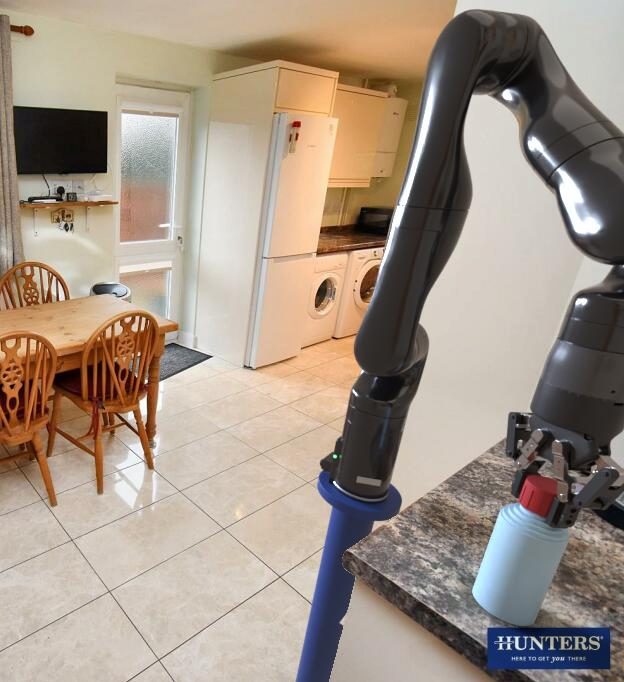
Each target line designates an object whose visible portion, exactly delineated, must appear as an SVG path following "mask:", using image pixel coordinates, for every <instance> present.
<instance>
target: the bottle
mask: <svg viewBox="0 0 624 682" xmlns="http://www.w3.org/2000/svg"><path fill="white" fill-rule="evenodd" d="M508 504H509V505H508ZM508 504H506V505H504V506H505V507H504V508H503V507H501V508H500V510H499V512H498V515H497V518H496V521H495V524H494V527H493V530H492V533H491V536H490V538H489V541H488V544H487V547H486V550H485V553H484V555H483V558H482V561H481V564H480V567H479V569H478V572H477V575H476V578H475V581H474V584H473V587H472V590H471V592H472V595H473V598H474V600H475V601H476V602H477V604H478V605H480V607H481V608H483V609H484V610H485V611H486V612H487V613H489V614H490V615H491V616H493V617H494V618H497V619H499V620H501V621H503V622H505V623H507V624H510V625H514V626H519V627H530V626H532V625H533V624H534V623H535V622H536V620H537V617H538V615H539V612H540V610H541V608H542V606H543V603H544V601H545V599H546V596H547V594H548V592H549V589H550V587H551V584H552V582H553V579H554V577H555V575H556V573H557V570H558V569H559V568H558V567H559V566H560V563H561V561H562V558H563V556H564V554H565V552H566V549H567V546H568V544H569V542H570V539H571V536H570V531H569V529H568V528H566V529H562V528H552V527H550V526H549V525H548V524H547V523H545V520H546V517H543V516H540V515H537V514H535V513H532V512H530V511H529V510H527V509H525V508H524V507H523V506H522V505H521V504H520V503H519V501H518V502H515V503H508Z"/></svg>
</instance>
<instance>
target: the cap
mask: <svg viewBox="0 0 624 682" xmlns="http://www.w3.org/2000/svg"><path fill="white" fill-rule="evenodd" d="M554 497H557V480H556V479H554V478H551V477H547V476H544V475H541V476H539V475H530V476H528V477H527V478H526V481H525V482H524V485H523V487H522V490H521V493H520V495H519V499H518V502H519V503H520V504H521V505H522V506H523V507H524V508H525V509H527V510H529V511H530V512H532V513H535V514H537V515H540V516H543V517H547V514H548V512H549V509H550V507H551V504H552V502H553V499H554Z"/></svg>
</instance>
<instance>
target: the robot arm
mask: <svg viewBox="0 0 624 682" xmlns="http://www.w3.org/2000/svg"><path fill="white" fill-rule="evenodd" d="M473 96H488V97H490V98H492V99H494V100H495V101H497V102H498V103H500V104H502V105H503V106H504V107H506V108H507V109H508V110H509V111H510V112H511V114H512V115H513V116H514V118H515V119H516V121H517V124H518V143H519V148H520V151H521V154H522V156H523V158H524V159H525V161H526V163H527V164H528V166H529V167H530V169H531V170H532V171H533V172H534V173H535V175H536V176H537V177H538V178H539V180H540V181H541V182H542V184H543V185H544V186H545V187H546V188H547V189H548V190H549V192H550V193H551V194H552V195H553V196H554V197H555V201H556V206H557V210H558V213H559V215H560V218H561V221H562V224H563V228H564V230H565V233H566V235H567V237H568V240H569V241H570V243H571V244H572V246H573V247H574V248H575V249H576V250H578V252H579V253H581V254H582V255H583V256H584V257H585V258H587V259H590V260H591V261H593V262H595V263H598V264H601V265H606V266H612V267H611V268H610V270H609V271H608V273H607V274H606V276H605V277H604V279H603V280H601V281H600V282H598V283H596V284H594V285H591V286H588V287H584V288H582V289H580V290H578V291H576V292H575V294H573V295H572V297H571V299H570V301H569V303H568V305H567V308H566V310H565V314H564V316H563V319H562V322H561V325H560V328H559V329H558V333H557V336H556V339H555V341H554V343H553V345H552V347H551V348H550V350H549V352H548V354H547V356H546V358H545V361H544V364H543V367H542V370H541V373H540V375H539V379H538V381H537V384H536V388H535V389H534V393H533V396H532V398H531V401H530V405H529V409H530V411H531V412H524V411H523V412H522V411H510V412H509V413H508V415H507V416H508V417H507V426H506V441H505V455H506V456H507V458H509V459H512V460H513V461H514V467H515V469H516V471H515V473H514V476H513V479H512V482H511V486H510V487H511V490H510V495H511V496H512V497H513V498H515V499H517V500H519V495H520V493H521V490H522V487H523V485H524V482H525V481H526V478H527V477H528V476H530V475H539V476H542V474H541V473H540V472H542V471H543V470H544V469H545V468H546V467H547V466H548V465H549V464H551V465H552V466H553V467H552V477H553V479H554V480H556V481H557V497H554V499H553V502H552V504H551V507H550V509H549V512H548V514H547V517H546V520H545V523H547V524H548V525H549V526H550V527H552V528H562V529H566V528H567V529H568V528H573V527H574V526H575V524H576V521H577V520H578V517H579V515H580V513H581V510H582V509H584V510H585V509H591V510H601V511H605V510H608V509H609V507H610V506H611V505H612V504H613V503H614V502H615V501H616V500H617V499H618V498H619V497H620V496H621V495H622V494H623V493H624V467H622V466H621V465H619V464H618V463H617V462H616V461H615V460H614V459H612V457H611V456H612V448H611V443H612V441H613V440H614V439H615V438H616V437H617V436H619V435H620V434H622V433H623V432H624V131H622V130H621V129H620V128H619V126H617V125H616V124H615V123H614V122H613V121H612V120H611V119H610V118H609V117H607V115H605V113H604V112H603V111H601V110H600V109H599V108H598V107H597V106H596V105H595V104H594V103H593V102H592V101H591V100H590V99H589V97H588V96H586V94H585V93H584V92H583V90H582V89H581V88H580V87H579V85H578V84H577V83H576V81H575V80H574V79H573V77H572V76H571V74H570V73H569V71H568V70H567V68H566V66H565V65H564V64H563V62H562V60H561V58H560V57H559V55H558V54H557V52H556V50H555V49H554V46H553V44H552V41H551V40H550V39H549V37H548V35H547V34H546V32H545V30H544V29H543V27H542V25H540V23H539V22H538V21H537V20H536V19H534V18H532V17H531V16H528V15H525V14H521V13H515V12H514V13H513V12H506V11H499V10H493V9H482V8H474V9H471V8H470V9H467V10H464V11H461V12H460V13H458V14H456V15H455V16H454V17H453V18H451V19H450V20H449V21H448V22H447V24H446V25H444V27H443V29H442V30H441V31H440V33H439V35H438V36H437V38H436V40H435V42H434V44H433V46H432V48H431V52H430V54H429V57H428V59H427V63H426V67H425V71H424V77H423V83H422V88H421V94H420V99H419V105H418V112H417V117H416V121H415V122H416V123H415V128H414V133H413V139H412V142H411V143H412V144H411V146H410V151H409V155H408V159H407V163H406V168H405V172H404V175H403V178H402V179H403V180H402V183H401V186H400V189H399V193H398V195H397V199H396V202H395V205H394V209H393V212H392V215H391V219H390V223H389V226H388V227H389V228H388V232H387V236H386V239H385V244H384V249H383V252H382V256H381V260H380V264H379V268H378V272H377V276H376V281H375V286H374V289H373V292H372V295H371V297H370V301H369V303H368V305H367V307H366V310H365V313H364V316H363V318H362V321H361V323H360V325H359V327H358V330H357V332H356V335H355V338H354V341H353V356H354V359H355V361H356V363H357V365H358V367H359V368H360V369H361V370H360V373H359V375H358V377H357V379H356V380H355V382H354V383H353V384H352V385H351V388H350V391H349V397H348V401H347V406H346V412H345V416H344V421H343V425H342V429H341V435H340V436H339V437H337V438H336V439H335V443H334V449H333V451H331V452H330V453H329V454H327V455H326V456H325V457H323V458H321V459H320V461H319V466H320V469H321V470H324V472H326V471H327V472H329V478H328V483H330V484H332V485H333V486H334V487H335V488H336V489H337V490H338V491H339V492H340V493H342V494H343V495H345V496H347V497H349V498H351V499H353V500H356V501H359V502H364V503H372V504H374V503H381V502H384V501H385V500H386V499H387V497H388V493H389V488H390V483H391V482H392V478H393V474H394V472H395V471H394V470H395V467H396V463H397V458H398V456H399V455H398V454H399V451H400V446H401V443H402V439H403V435H404V431H405V426H406V423H407V420H408V415H409V412H410V408H411V405H412V403H413V402H414V399H415V397H416V395H417V393H418V391H419V387H420V383H421V380H422V378H423V373H424V370H425V367H426V364H427V360H428V356H429V351H430V338H429V334H428V333H427V332H428V331H426V328H425V327H424V326H423V325H422V324H421V323H420V320H421V317H422V313H423V310H424V307H425V304H426V302H427V299H428V296H429V295H430V293H431V290H432V289H433V288H434V286H435V284H436V282H437V280H438V279H439V278H440V276H441V274H442V272H443V271H444V269H445V268H446V266H447V265H448V263H449V260H450V259H451V257H452V255H453V254H454V252H455V250H456V248H457V246H458V244H459V241H460V239H461V236H462V233H463V230H464V227H465V224H466V221H467V218H468V215H469V213H470V210H471V206H472V202H473V197H474V187H473V180H472V174H471V168H470V164H469V160H468V156H467V151H466V145H465V127H466V120H467V117H468V113H469V108H470V105H471V100H472V98H473ZM519 441H521V448H519V447H518V446H519ZM569 471H574V472H577V473H569ZM573 484H575V485H574V486H575V488H574V489H575V490H574V491H573Z"/></svg>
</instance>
